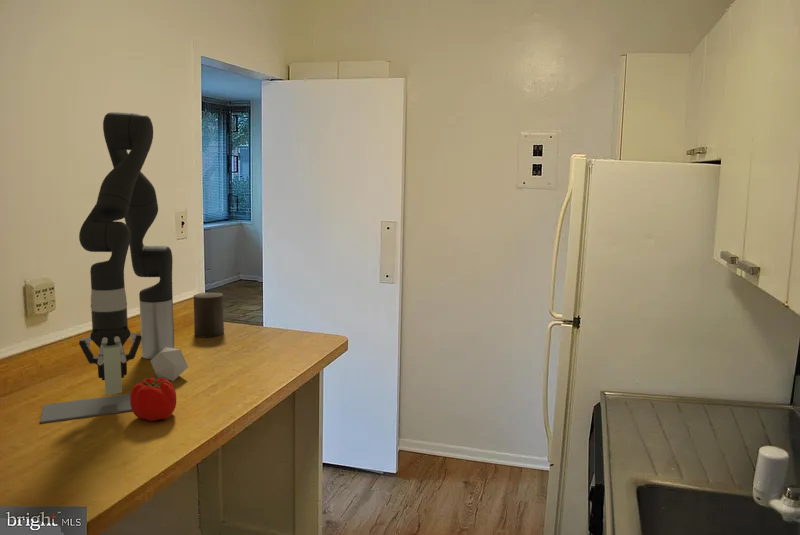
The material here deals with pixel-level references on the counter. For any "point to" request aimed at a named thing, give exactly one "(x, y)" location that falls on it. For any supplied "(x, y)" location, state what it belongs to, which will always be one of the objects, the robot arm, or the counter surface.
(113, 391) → the slab
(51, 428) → the counter surface
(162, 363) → the die
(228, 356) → the counter surface
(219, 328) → the pillar candle
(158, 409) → the tomato
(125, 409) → the mat
